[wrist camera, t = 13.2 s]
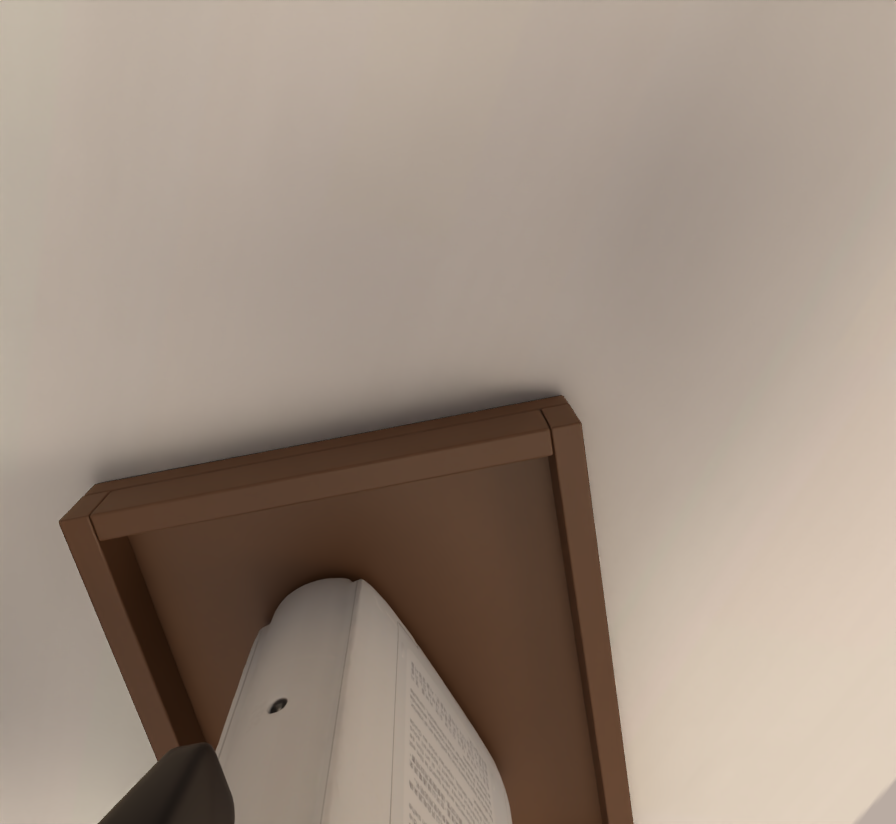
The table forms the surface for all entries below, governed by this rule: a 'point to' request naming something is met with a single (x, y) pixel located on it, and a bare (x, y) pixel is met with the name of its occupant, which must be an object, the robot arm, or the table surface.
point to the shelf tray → (381, 584)
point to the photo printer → (351, 723)
